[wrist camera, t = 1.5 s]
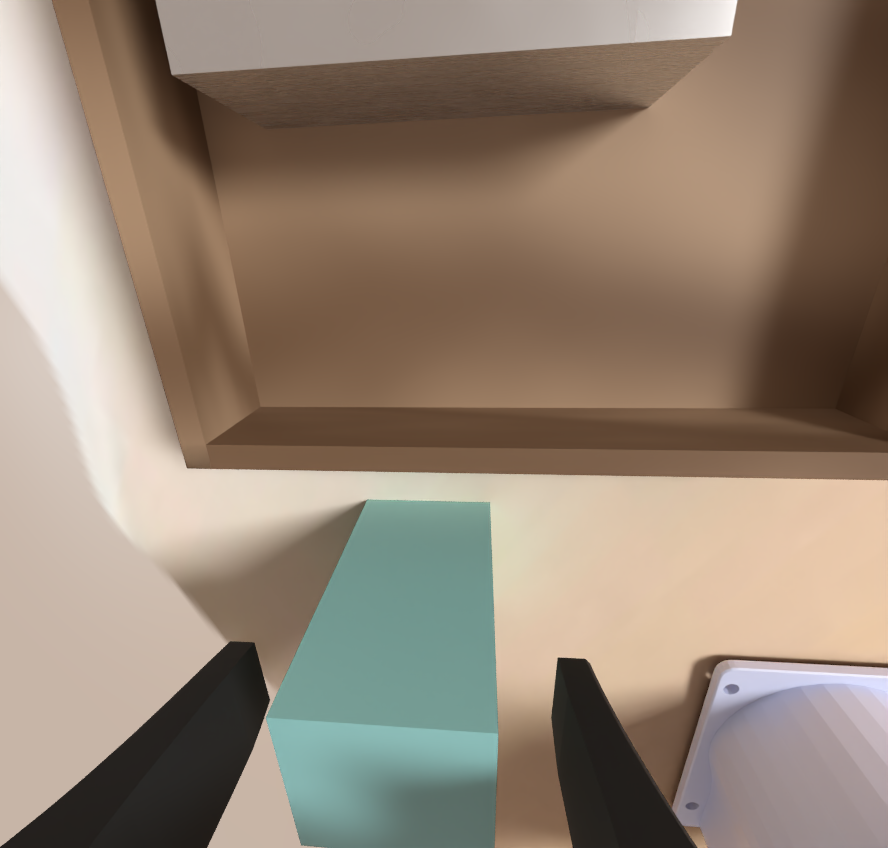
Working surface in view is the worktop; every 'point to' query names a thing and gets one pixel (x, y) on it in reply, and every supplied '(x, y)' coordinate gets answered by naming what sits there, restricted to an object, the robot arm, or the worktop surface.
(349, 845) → the teal plug
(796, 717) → the robot arm
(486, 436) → the walnut tray
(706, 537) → the worktop surface
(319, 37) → the metal socket
